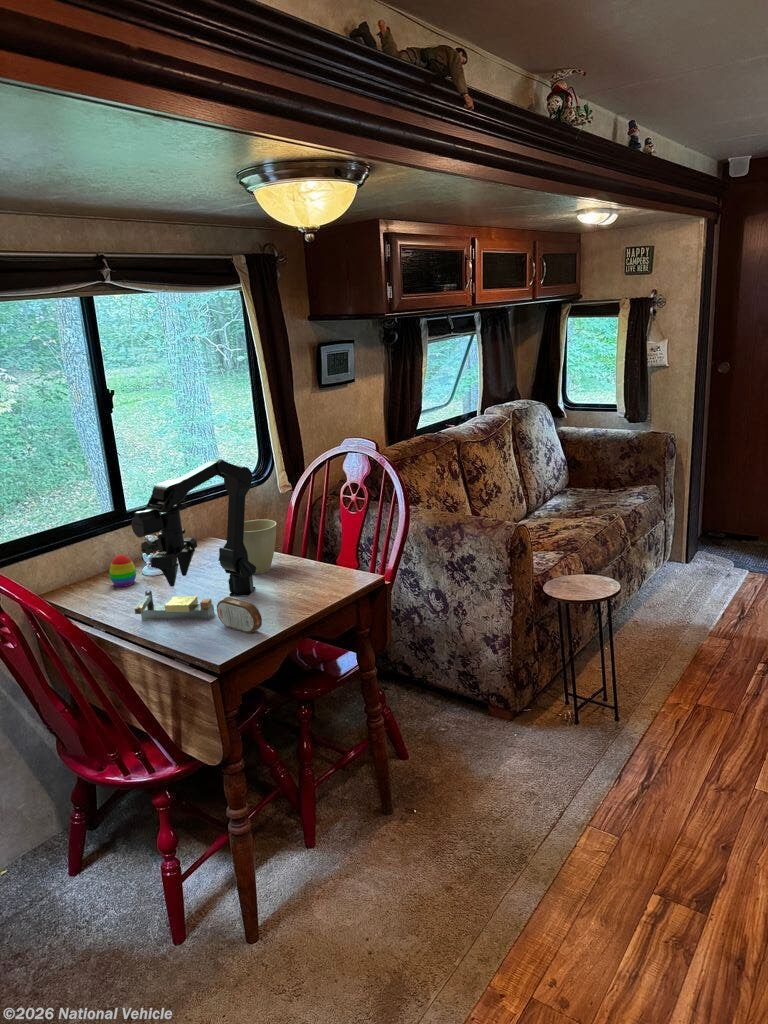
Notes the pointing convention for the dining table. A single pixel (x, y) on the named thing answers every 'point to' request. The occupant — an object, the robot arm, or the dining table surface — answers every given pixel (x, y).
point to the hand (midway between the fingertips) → (178, 580)
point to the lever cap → (181, 604)
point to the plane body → (197, 613)
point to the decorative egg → (122, 571)
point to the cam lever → (144, 603)
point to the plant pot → (260, 543)
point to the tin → (239, 615)
